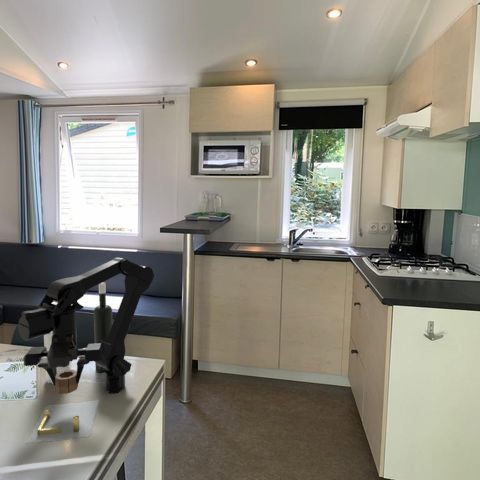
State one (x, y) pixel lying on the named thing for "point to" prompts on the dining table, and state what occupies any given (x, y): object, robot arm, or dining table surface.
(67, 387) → the walnut ring
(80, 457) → the dining table surface
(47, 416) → the bent rail
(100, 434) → the dining table surface
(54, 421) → the slate board
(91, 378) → the dining table surface
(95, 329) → the wine bottle
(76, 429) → the end peg
